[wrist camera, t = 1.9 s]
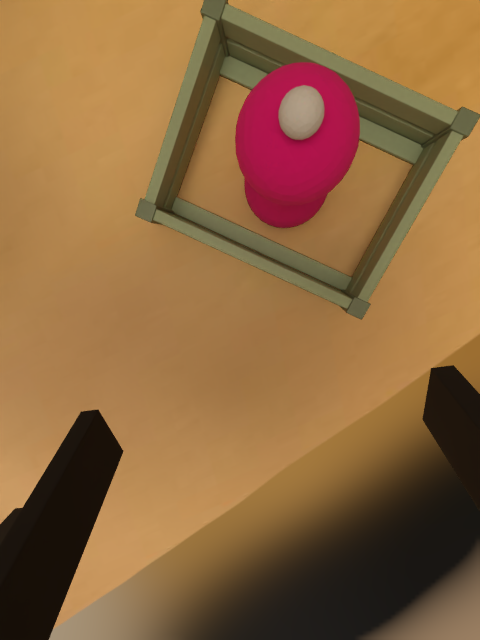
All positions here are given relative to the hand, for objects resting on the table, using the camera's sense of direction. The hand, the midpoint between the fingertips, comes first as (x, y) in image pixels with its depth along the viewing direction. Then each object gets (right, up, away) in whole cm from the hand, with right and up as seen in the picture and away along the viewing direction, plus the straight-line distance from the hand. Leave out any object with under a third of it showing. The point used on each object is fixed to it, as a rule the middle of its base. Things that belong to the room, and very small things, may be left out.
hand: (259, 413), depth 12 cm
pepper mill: (+4, +17, +18) cm, 25 cm away
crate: (+4, +18, +18) cm, 25 cm away
